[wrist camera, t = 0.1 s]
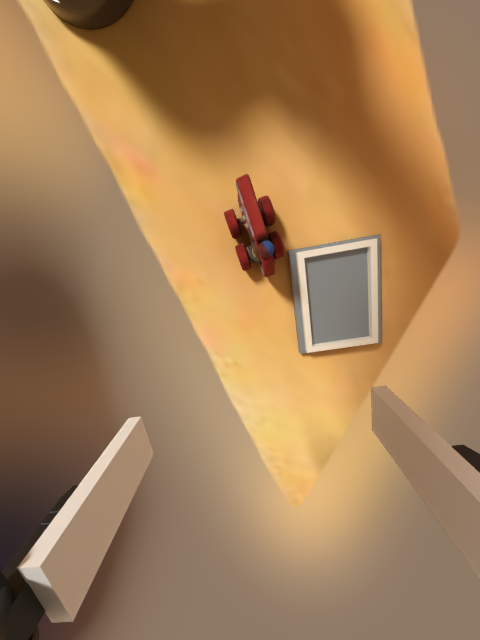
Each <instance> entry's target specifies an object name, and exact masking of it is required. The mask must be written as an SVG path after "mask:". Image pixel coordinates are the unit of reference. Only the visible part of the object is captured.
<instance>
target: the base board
mask: <svg viewBox="0 0 480 640" xmlns="http://www.w3.org/2000/svg"><path fill="white" fill-rule="evenodd" d="M288 257H289V266H290V275H291V284H292V293H293V302H294V311H295V320H296V329H297V338H298V347H299V352H300V354H304V353H311V352H318V351H325V350H332V349H339V348H346V347H353V346H360V345H367V344H375V343H381V260H380V234H379V235H373V236H368V237H362V238H357V239H351V240H345V241H340V242H334V243H329V244H323V245H317V246H312V247H306V248H300V249H295V250H289V251H288Z"/></svg>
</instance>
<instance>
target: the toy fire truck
mask: <svg viewBox="0 0 480 640" xmlns="http://www.w3.org/2000/svg"><path fill="white" fill-rule="evenodd" d="M236 187H237V190H238V203H239V207H240V210H241V213H242V218H239V219H237V218H236V215H235V213H234V210H233V209H230V210H228V211H226V212H225V213H224V215H225V219H226V221H227V224H228V227H229V230H230V232H231V235H232V237H233V238H234V239H236V238H239V237H241V236H242V233H241V230H240V227H239V226H240V225H242V224H244V223H245V225H246V228H247V230H248V233H249V236H250V239H251V241H252V244H251V246H249V247H245V245H244V244H243V243H241V244H240V245H237V246H236V247H235V249H236V252H237V255H238V258H239V261H240V264H241V267H242V269H243V270H244V271H245V270H248V269H251V267H252V266H251V263H252V262H258V263H259V265H260V268H261V271H262V274H263V275H264V276H265V277H267V276H270V275H274V274H275V268H274V258H275V259H278V258H281V257H283V256H284V248H283V244H282V241H281V238H280V236H279V234H278V232H276V231H274V232H272V233H270V234H268V238H267V231H266V228H265V226H267V227H268V226H270V225H273V224H274V223H275V214H274V210H273V206H272V203H271V201H270V199H269V197H268V196H264V197H261V198H259V199H258V202H257V199H256V196H255V193H254V190H253V187H252V183H251V180H250V177H249V175H248V174H245V175H243V176H241V177H239V178H237V179H236ZM273 257H274V258H273Z"/></svg>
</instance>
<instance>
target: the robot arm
mask: <svg viewBox="0 0 480 640" xmlns="http://www.w3.org/2000/svg"><path fill="white" fill-rule="evenodd" d="M44 2H45V3H46V4H47V5H48V6H49V8H50V9H51V10H52V11H53V12H54V13H55V14H57V15H58V16H59V17H60V18H62V19H63V20H65V21H66V22H68V23H70V24H72V25H75V26H77V27H81V28H87V29H95V28H101V27H104V26H107V25H109V24H111V23H113V22H114V21H116V20H117V19H118V18H119V17H121V15H122V14H123V13H124V12H125V11H126V10H127V8H128V7H129V5H130V4H131V2H132V0H44ZM371 406H372V430H373V432H374V433H375V434H376V436H377V437H378V438H379V440H380V441H381V443H382V444H383V445H384V447H385V448H386V450H387V451H388V452H389V454H390V455H391V457H392V458H393V459H394V461H395V462H396V464H397V465H398V466H399V468H400V469H401V470H402V472H403V473H404V475H405V476H406V477H407V479H408V480H409V481H410V483H411V484H412V486H413V487H414V488H415V490H416V491H417V492H418V494H419V495H420V497H421V498H422V499H423V500H424V502H425V503H426V505H427V506H428V508H429V509H430V511H431V512H432V513H433V515H434V516H435V518H436V519H437V520H438V522H439V523H440V524H441V526H442V527H443V528H444V530H445V531H446V533H447V534H448V535H449V537H450V538H451V540H452V541H453V542H454V544H455V545H456V547H457V548H458V549H459V551H460V552H461V554H462V555H463V556H464V558H465V559H466V560H467V562H468V563H469V565H470V566H471V567H472V569H473V570H474V572H475V573H476V574H477V576H478V577H479V578H480V454H479V453H477V452H475V451H473V450H472V449H470V448H468V447H466V446H464V445H456V446H450V445H449V444H448V443H447V442H446V441H444V439H443V438H441V437H440V436H439V435H438V434H437V433H436V432H435V431H434V430H433V429H432V428H431V427H430V426H429V425H427V424H426V423H425V422H424V421H423V420H422V419H421V418H420V417H419V416H418V415H417V414H416V413H415V412H413V411H412V410H411V409H410V408H409V407H408V406H407V405H406V404H405V403H404V402H403V401H402V400H401V399H399V398H398V397H397V396H396V395H395V394H394V393H393V392H392V391H391V390H390V389H389V388H388V387H386V386H380V387H372V388H371ZM152 456H153V451H152V448H151V445H150V442H149V439H148V436H147V433H146V430H145V427H144V424H143V421H142V418H141V417H134V418H129V419H128V420H127V421H126V423H125V424H124V425H123V427H122V428H121V429H120V431H119V432H118V434H117V435H116V436H115V437H114V439H113V440H112V441H111V443H110V444H109V445H108V447H107V448H106V449H105V451H104V452H103V453H102V455H101V456H100V457H99V459H98V460H97V461H96V463H95V464H94V466H93V467H92V468H91V470H90V471H89V472H88V474H87V475H86V476H85V478H84V479H83V480H82V482H81V483H80V484H79V485H75V486H73V487H72V488H71V489H70V490H69V491H67V492H66V493H65V494H64V495H63V496H62V497H61V498H60V499H59V501H58V502H57V503H56V505H55V506H54V507H53V508H52V509H51V511H50V513H49V514H47V516H46V517H45V518H44V520H43V521H42V522H41V525H40V526H38V527H37V529H36V530H35V531H34V533H33V534H32V535H31V536H30V537H29V539H28V540H27V541H26V543H25V544H24V545H23V546H22V548H21V549H20V550H19V552H18V553H17V554H16V556H15V557H14V558H13V559H12V561H11V562H10V563H9V565H8V566H7V567H6V568H5V570H4V571H3V572H1V571H0V640H39V635H40V634H39V628H38V626H37V625H38V623H39V621H40V619H41V618H42V616H43V614H44V612H45V613H46V614H47V616H48V617H49V619H50V620H51V622H52V623H53V622H71V621H73V620H74V618H75V616H76V614H77V612H78V610H79V608H80V606H81V604H82V601H83V599H84V597H85V595H86V593H87V591H88V589H89V587H90V585H91V583H92V581H93V579H94V576H95V574H96V572H97V570H98V568H99V566H100V564H101V562H102V560H103V558H104V556H105V554H106V551H107V550H108V548H109V545H110V543H111V541H112V539H113V537H114V535H115V533H116V531H117V529H118V527H119V525H120V523H121V521H122V519H123V516H124V514H125V512H126V510H127V508H128V506H129V504H130V502H131V500H132V498H133V496H134V494H135V491H136V489H137V487H138V485H139V483H140V481H141V479H142V477H143V475H144V473H145V471H146V469H147V467H148V465H149V462H150V461H151V458H152Z"/></svg>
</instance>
